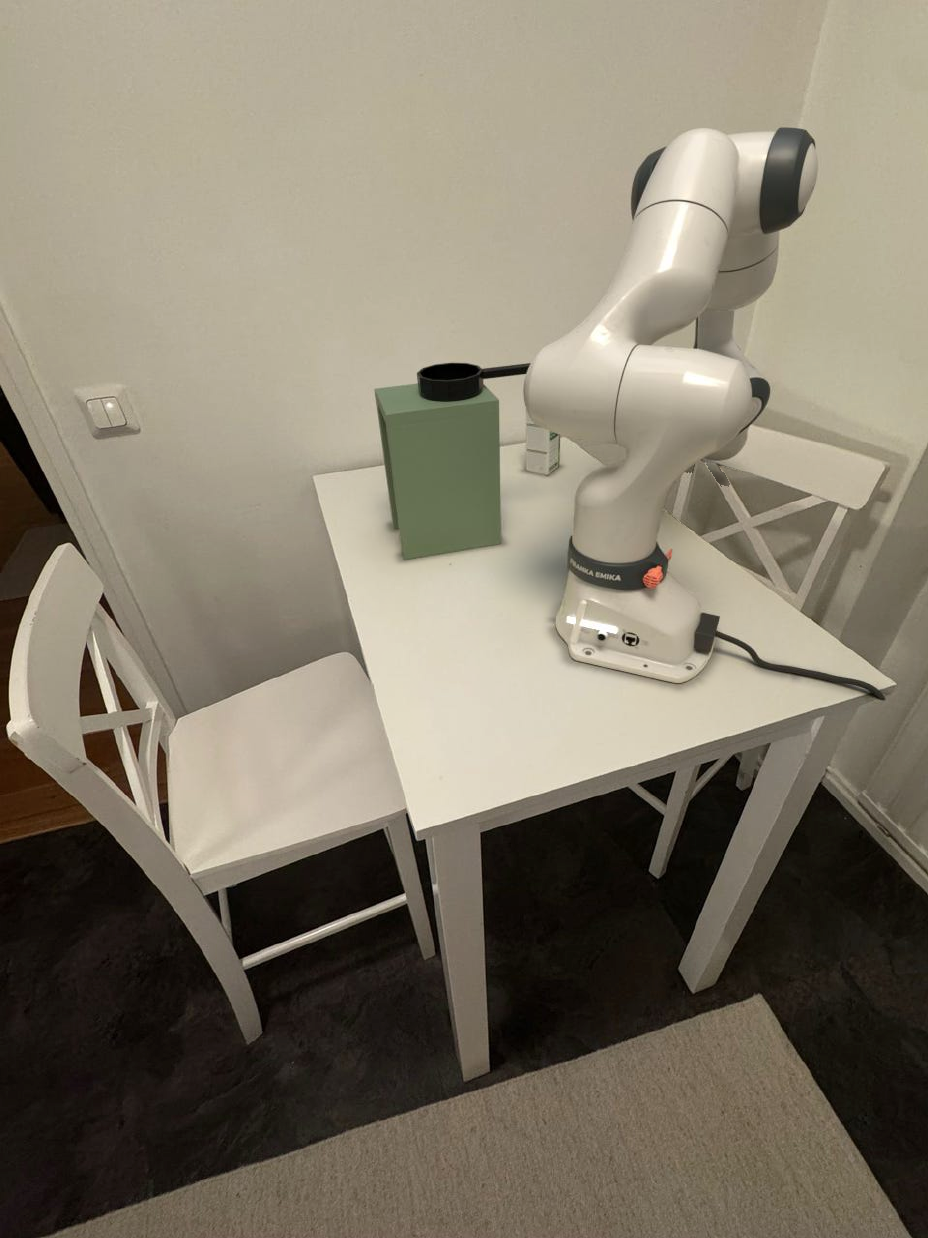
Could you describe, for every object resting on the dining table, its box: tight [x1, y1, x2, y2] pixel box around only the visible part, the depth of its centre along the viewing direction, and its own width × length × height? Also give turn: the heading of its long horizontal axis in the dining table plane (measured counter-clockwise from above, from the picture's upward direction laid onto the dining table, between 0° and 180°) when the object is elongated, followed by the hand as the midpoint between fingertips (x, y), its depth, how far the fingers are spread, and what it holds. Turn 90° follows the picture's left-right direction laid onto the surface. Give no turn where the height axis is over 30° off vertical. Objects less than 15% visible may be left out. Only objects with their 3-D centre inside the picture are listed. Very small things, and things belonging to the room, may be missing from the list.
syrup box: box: [525, 409, 561, 476], centre depth 132 cm, size 6×6×14 cm
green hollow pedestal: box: [373, 382, 502, 561], centre depth 107 cm, size 18×14×26 cm
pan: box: [416, 362, 531, 402], centre depth 99 cm, size 26×10×3 cm, turn 104°
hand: (612, 397), depth 106 cm, fingers open, 8 cm apart
